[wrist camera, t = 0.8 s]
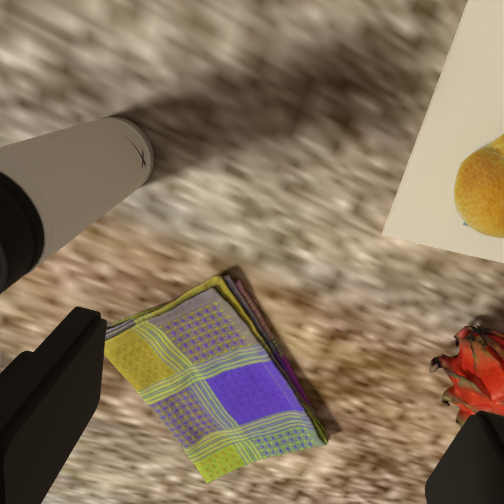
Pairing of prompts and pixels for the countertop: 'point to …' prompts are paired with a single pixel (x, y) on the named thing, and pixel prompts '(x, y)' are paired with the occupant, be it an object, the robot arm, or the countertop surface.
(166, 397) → the dish towel
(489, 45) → the placemat
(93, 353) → the robot arm
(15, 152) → the travel mug
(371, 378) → the countertop surface
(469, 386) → the dragon fruit
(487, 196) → the bread roll
